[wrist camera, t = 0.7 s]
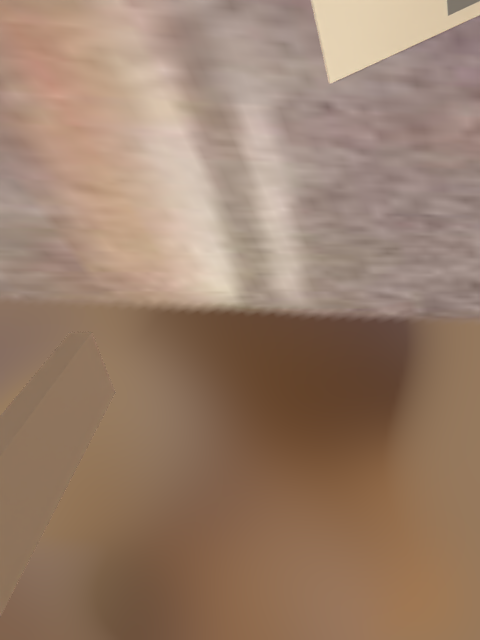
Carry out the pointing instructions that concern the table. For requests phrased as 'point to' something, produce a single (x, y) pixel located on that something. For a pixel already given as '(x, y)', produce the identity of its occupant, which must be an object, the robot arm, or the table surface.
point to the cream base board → (380, 28)
